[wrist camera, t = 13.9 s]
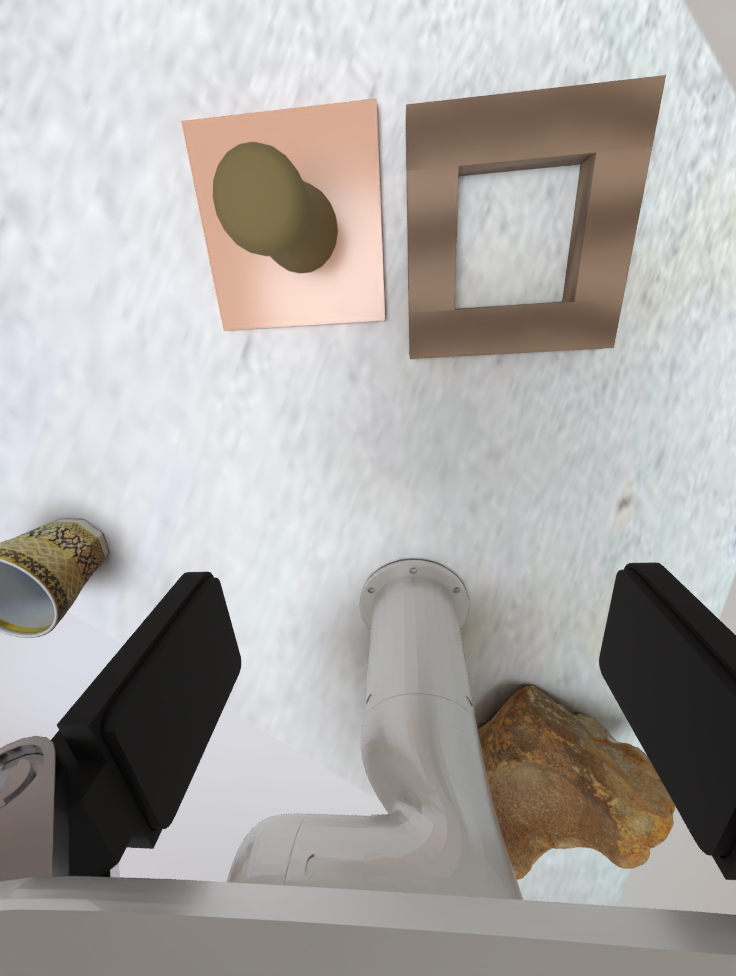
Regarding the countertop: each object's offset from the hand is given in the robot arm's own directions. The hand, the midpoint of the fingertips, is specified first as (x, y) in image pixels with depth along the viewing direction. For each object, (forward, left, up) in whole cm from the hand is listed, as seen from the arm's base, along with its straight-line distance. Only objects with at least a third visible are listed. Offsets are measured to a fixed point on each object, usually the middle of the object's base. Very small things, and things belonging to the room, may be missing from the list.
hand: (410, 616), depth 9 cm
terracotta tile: (+12, +8, -30) cm, 33 cm away
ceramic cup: (-18, +39, -30) cm, 52 cm away
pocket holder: (+10, -9, -30) cm, 33 cm away
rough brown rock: (-46, -16, -30) cm, 57 cm away
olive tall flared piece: (+12, +8, -29) cm, 32 cm away
